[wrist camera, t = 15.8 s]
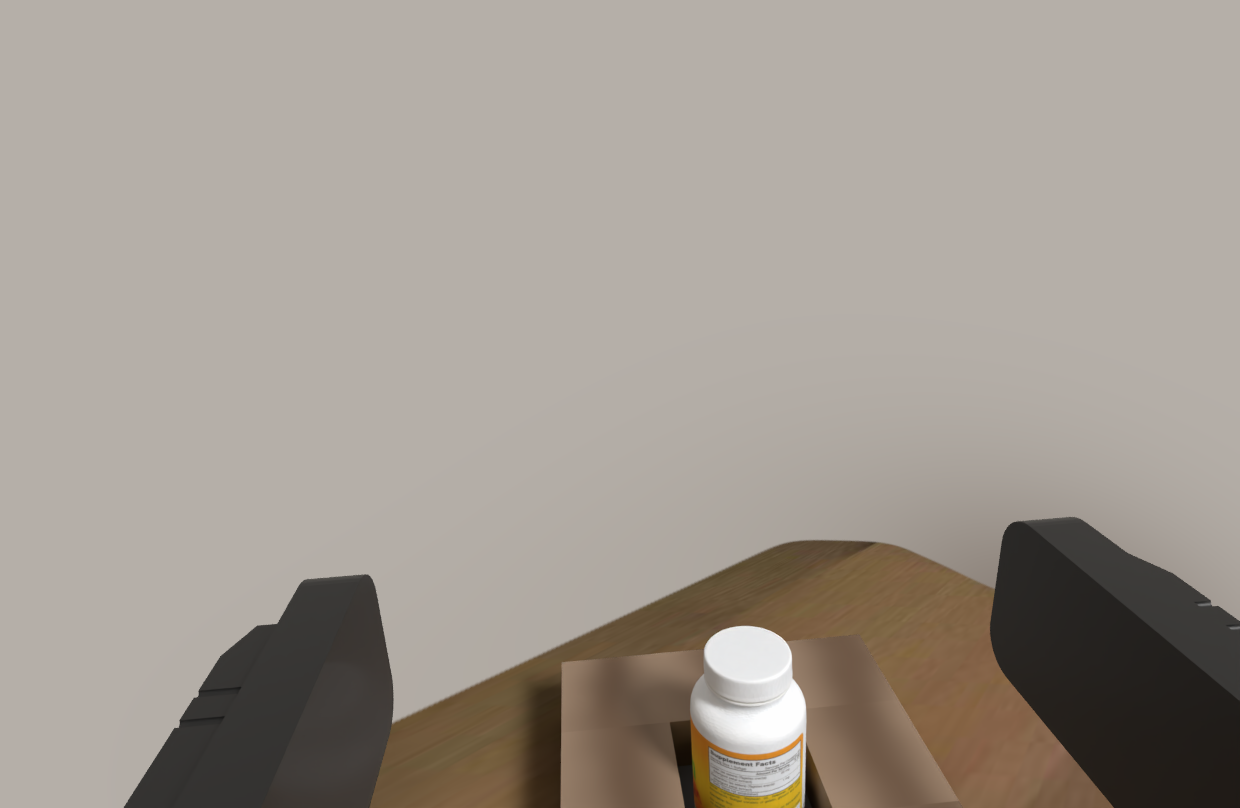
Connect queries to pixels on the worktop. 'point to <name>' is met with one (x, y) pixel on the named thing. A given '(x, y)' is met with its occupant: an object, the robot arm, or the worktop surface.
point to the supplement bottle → (748, 724)
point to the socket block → (661, 732)
